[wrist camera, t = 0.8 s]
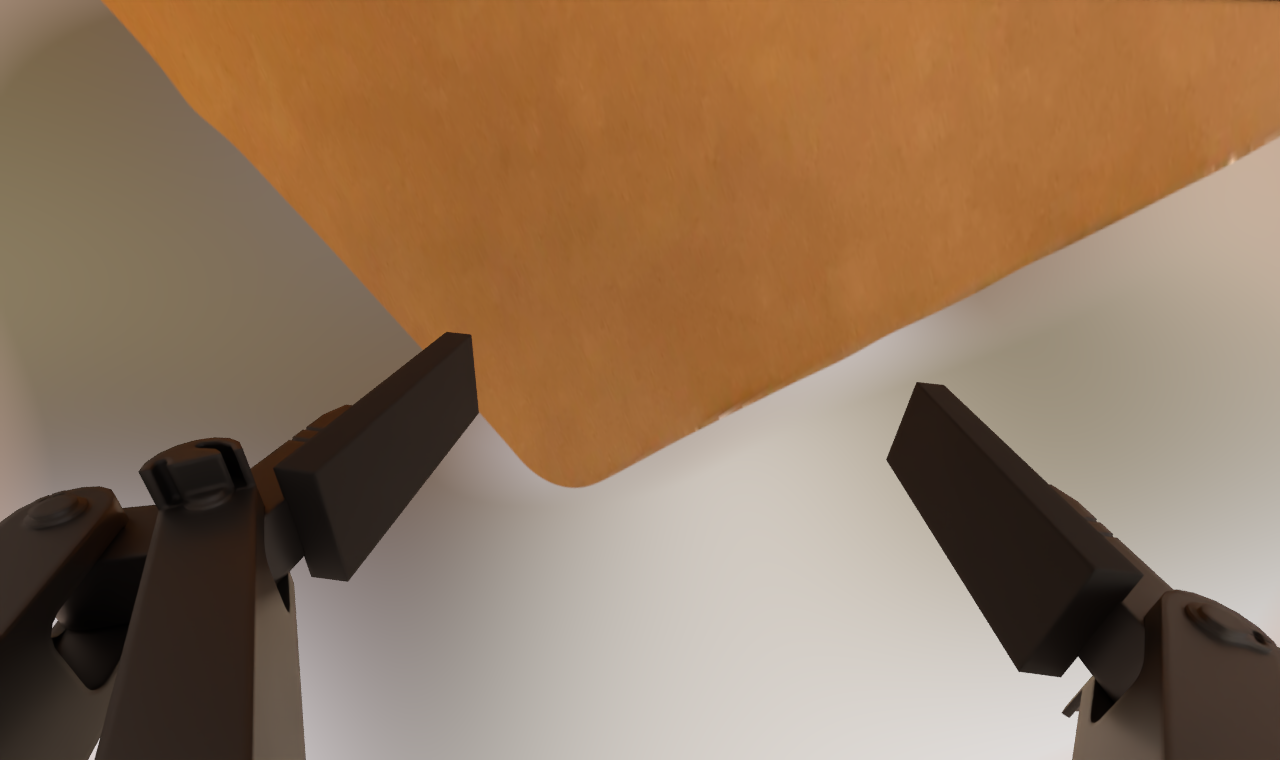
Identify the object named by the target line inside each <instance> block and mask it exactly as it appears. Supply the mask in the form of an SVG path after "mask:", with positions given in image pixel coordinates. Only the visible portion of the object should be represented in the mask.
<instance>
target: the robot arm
mask: <svg viewBox="0 0 1280 760" xmlns="http://www.w3.org/2000/svg"><path fill="white" fill-rule="evenodd" d="M478 413H479V410H478V400H477V389H476V379H475V369H474V358H473V348H472V338H471V335H470V334H460V333H451V332H446V333H445V334H443V335H442V336H441V337H439V338H438V339H437V340H436V341H434V342H433V343H432V344H430V345H429V346H428V347H427V348H425V349H424V350H423V351H422V352H420V353H419V354H418V355H416V356H415V357H414V358H413V359H411V360H410V361H409V362H407V363H406V364H405V365H404V366H402V367H401V368H400V369H399V370H397V371H396V372H395V373H393V374H392V375H391V376H390V377H388V378H387V379H386V380H385V381H383V382H382V383H381V384H379V385H378V386H377V387H376V388H374V389H373V390H372V391H370V392H369V393H368V394H367V395H365V396H364V397H363V398H361V399H360V400H359V401H358V402H356V403H355V404H354V405H344V406H342V407H340V408H337V409H335V410H333V411H330V412H328V413H326V414H324V415H322V416H321V417H319V418H318V419H317V420H315V421H314V422H313V423H311V424H310V425H309V426H307V428H306V430H302V431H301V432H299V433H298V434H297V435H296V436H294V437H293V439H292V440H288V441H287V442H286V443H284V444H283V445H282V446H280V447H279V448H278V449H276V450H275V451H274V452H272V453H271V454H270V455H268V456H267V457H266V458H264V459H263V460H262V461H260V462H259V463H258V464H256V465H255V466H254V467H252V468H251V469H250V467H249V464H248V462H247V459H246V456H245V454H244V451H243V449H242V447H241V444H240V442H238V441H236V440H233V439H230V438H207V439H200V440H195V441H191V442H187V443H184V444H181V445H177V446H175V447H172V448H170V449H168V450H166V451H163V452H161V453H159V454H157V455H156V456H154V457H153V458H151V459H150V460H148V461H147V462H146V463H145V464H144V465H143V467H142V468H141V469H140V471H139V474H140V475H141V477H142V480H143V481H144V483H145V485H146V487H147V489H148V491H149V493H150V495H151V497H152V499H153V500H154V503H155V504H156V505H149V506H139V507H129V508H122V507H121V505H120V503H119V501H118V500H117V498H116V496H115V495H114V493H113V491H112V490H111V489H108V488H104V487H100V486H99V487H81V488H77V489H72V490H67V491H61V492H57V493H54V494H52V495H50V496H49V495H48V496H45V497H42V498H40V499H38V500H36V501H35V502H33V503H31V504H28V505H26V506H24V507H22V508H20V509H18V510H17V511H15V512H14V513H12V514H11V515H10V516H8V517H7V518H5V519H4V520H3V521H1V522H0V760H88V759H89V757H90V755H91V753H92V751H93V749H94V747H95V746H96V744H97V742H98V740H99V738H100V741H99V745H98V749H97V752H96V757H95V760H306V758H305V743H304V728H303V713H302V697H301V682H300V667H299V653H298V637H297V622H296V607H295V592H294V582H293V580H292V577H291V575H290V570H291V569H292V568H293V567H294V566H295V565H296V564H297V563H298V562H299V561H300V560H301V559H302V558H303V556H304V557H305V560H306V563H307V565H308V568H309V571H310V574H311V577H317V578H325V579H332V580H340V581H349V579H350V578H351V577H352V576H353V574H354V573H355V572H356V571H357V569H358V568H359V567H360V565H361V564H362V563H363V561H364V560H365V559H366V558H367V556H368V555H369V554H370V552H371V551H372V550H373V549H374V547H375V546H376V545H377V543H378V542H379V540H381V538H382V537H383V536H384V534H385V533H386V532H387V530H388V529H389V528H390V527H391V525H392V524H393V523H394V522H395V520H396V519H397V518H398V516H399V515H400V514H401V513H402V511H403V510H404V509H405V507H406V506H407V505H408V503H409V502H410V501H411V500H412V498H413V497H414V496H415V494H416V493H417V492H418V490H419V489H420V488H421V487H422V485H423V484H424V483H425V481H426V480H427V479H428V478H429V476H430V475H431V474H432V473H433V471H434V470H435V469H436V467H437V466H438V465H439V463H440V462H441V461H442V460H443V458H444V457H445V456H446V455H447V453H448V452H449V451H450V449H451V448H452V447H453V445H454V444H455V443H456V442H457V440H458V439H459V438H460V436H461V435H462V433H463V432H464V431H465V430H466V429H467V427H468V426H469V425H470V424H471V422H472V421H473V420H474V418H475V417H476V416H477V414H478ZM886 460H887V462H888V463H889V465H890V466H891V468H892V469H893V471H894V473H895V474H896V476H897V478H898V479H899V481H900V482H901V484H902V485H903V487H904V489H905V490H906V492H907V494H908V495H909V497H910V498H911V500H912V502H913V503H914V505H915V506H916V508H917V510H918V511H919V512H920V514H921V516H922V517H923V519H924V521H925V522H926V524H927V525H928V527H929V529H930V530H931V532H932V533H933V535H934V537H935V538H936V540H937V541H938V543H939V545H940V546H941V548H942V550H943V551H944V553H945V554H946V556H947V558H948V559H949V561H950V562H951V564H952V566H953V567H954V569H955V570H956V572H957V574H958V575H959V577H960V578H961V580H962V581H963V583H964V584H965V586H966V588H967V589H968V591H969V593H970V594H971V596H972V597H973V599H974V601H975V602H976V604H977V606H978V607H979V609H980V610H981V612H982V613H983V615H984V617H985V618H986V620H987V622H988V623H989V625H990V626H991V628H992V630H993V631H994V633H995V634H996V636H997V637H998V639H999V641H1000V642H1001V644H1002V645H1003V647H1004V649H1005V650H1006V652H1007V653H1008V655H1009V657H1010V658H1011V660H1012V661H1013V663H1014V665H1015V666H1016V668H1017V669H1018V671H1019V672H1026V673H1034V674H1041V675H1048V676H1056V677H1061V676H1062V675H1063V674H1064V672H1066V670H1067V669H1068V668H1069V667H1070V665H1071V664H1072V663H1073V662H1074V660H1075V659H1076V658H1077V657H1079V658H1080V659H1081V661H1082V662H1083V663H1084V665H1085V666H1086V667H1087V669H1088V670H1089V671H1090V672H1091V674H1092V675H1093V676H1092V677H1091V678H1090V679H1089V681H1088V682H1087V683H1086V684H1085V685H1084V686H1083V687H1082V688H1081V690H1080V691H1079V692H1078V693H1077V694H1076V695H1075V697H1074V698H1073V699H1072V700H1071V701H1070V702H1069V704H1068V705H1067V706H1066V707H1065V709H1064V710H1063V712H1062V713H1063V714H1064V715H1066V716H1067V717H1070V716H1071V715H1072V714H1073V713H1074V712H1075V711H1079V717H1078V724H1077V730H1076V737H1075V744H1074V752H1073V759H1072V760H1280V648H1279V647H1277V646H1276V644H1275V643H1274V641H1272V640H1271V639H1270V638H1269V637H1268V636H1267V635H1266V634H1265V633H1264V632H1263V631H1262V630H1261V629H1260V628H1258V627H1257V626H1256V625H1254V624H1253V623H1251V622H1250V621H1248V620H1247V619H1246V618H1244V617H1243V616H1241V615H1240V614H1238V613H1237V612H1235V611H1233V610H1231V609H1229V608H1227V607H1226V606H1224V605H1222V604H1220V603H1218V602H1216V601H1214V600H1211V599H1209V598H1206V597H1203V596H1201V595H1198V594H1195V593H1191V592H1187V591H1181V590H1173V589H1172V588H1171V587H1170V586H1169V585H1168V584H1167V583H1165V582H1164V581H1163V580H1162V579H1161V578H1160V577H1159V576H1158V575H1157V574H1155V572H1154V571H1152V570H1151V569H1150V568H1149V567H1148V566H1147V565H1146V564H1145V563H1144V562H1143V561H1142V560H1141V559H1139V558H1138V557H1137V556H1136V555H1135V554H1134V553H1133V552H1132V551H1131V550H1130V549H1129V548H1127V547H1126V546H1125V545H1124V544H1123V543H1122V542H1121V541H1120V540H1119V539H1118V538H1114V537H1113V534H1112V533H1111V532H1110V531H1109V530H1108V529H1107V528H1106V527H1105V526H1103V524H1101V523H1099V522H1097V521H1096V520H1097V519H1096V518H1095V517H1094V516H1093V515H1092V514H1091V513H1090V512H1088V511H1087V510H1086V509H1085V508H1084V507H1083V506H1082V505H1081V504H1080V503H1079V502H1078V501H1076V500H1074V499H1073V498H1071V497H1070V496H1068V495H1067V494H1065V493H1064V492H1062V491H1060V490H1059V489H1057V488H1056V487H1054V486H1052V485H1049V484H1048V483H1047V482H1046V481H1045V480H1043V479H1042V478H1041V477H1040V476H1039V475H1038V474H1037V473H1036V472H1035V471H1034V470H1033V469H1031V467H1030V466H1028V464H1027V463H1026V462H1025V461H1023V460H1022V459H1021V458H1020V457H1019V456H1018V455H1017V454H1016V453H1015V452H1014V451H1013V450H1012V449H1011V448H1010V447H1009V446H1008V445H1007V444H1005V443H1004V442H1003V441H1002V440H1001V439H1000V438H999V437H998V436H997V435H996V434H995V433H994V432H993V431H992V430H991V429H990V428H988V426H987V425H985V424H984V423H983V422H982V421H981V420H980V419H979V418H978V417H977V416H976V415H975V414H974V413H973V412H972V411H971V410H970V409H969V408H968V407H967V406H965V405H964V404H963V403H962V402H961V401H960V400H959V399H958V398H957V397H956V396H955V395H954V394H953V393H952V392H951V391H949V389H948V388H946V387H945V386H944V385H938V384H929V383H920V382H917V383H916V385H915V388H914V390H913V393H912V395H911V398H910V400H909V403H908V406H907V408H906V411H905V413H904V416H903V418H902V421H901V424H900V426H899V429H898V431H897V434H896V436H895V439H894V441H893V444H892V447H891V449H890V452H889V454H888V457H887V459H886ZM55 618H57V620H58V621H57V623H56V624H55V625H54V627H53V628H52V623H53V621H54V620H55Z"/></svg>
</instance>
